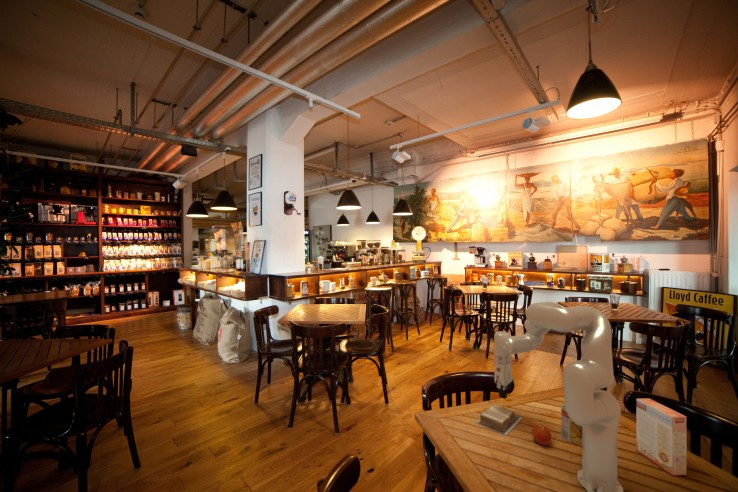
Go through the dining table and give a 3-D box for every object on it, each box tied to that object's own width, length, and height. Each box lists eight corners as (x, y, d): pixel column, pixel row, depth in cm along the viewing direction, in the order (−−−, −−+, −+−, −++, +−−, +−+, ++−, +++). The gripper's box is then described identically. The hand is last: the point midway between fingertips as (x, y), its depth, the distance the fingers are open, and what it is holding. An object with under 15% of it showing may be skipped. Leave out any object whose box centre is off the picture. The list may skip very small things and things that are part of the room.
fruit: (552, 441, 129) (552, 422, 129) (550, 450, 123) (550, 430, 123) (533, 436, 133) (533, 417, 133) (531, 444, 127) (531, 425, 127)
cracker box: (688, 475, 110) (687, 416, 110) (672, 476, 109) (671, 416, 109) (649, 450, 124) (649, 397, 124) (635, 450, 123) (635, 397, 123)
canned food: (588, 441, 129) (588, 412, 129) (573, 445, 127) (573, 415, 127) (570, 431, 136) (570, 403, 136) (556, 434, 134) (556, 406, 134)
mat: (506, 436, 132) (506, 435, 132) (475, 423, 142) (475, 422, 142) (523, 418, 146) (523, 417, 146) (493, 407, 156) (493, 406, 156)
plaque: (514, 420, 144) (502, 432, 134) (493, 412, 151) (480, 423, 142) (514, 411, 144) (502, 423, 134) (493, 403, 151) (480, 414, 142)
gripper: (504, 364, 139) (504, 406, 139) (517, 356, 150) (517, 394, 150) (488, 360, 145) (488, 400, 145) (501, 352, 155) (501, 389, 155)
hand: (502, 397), depth 147 cm, fingers closed
